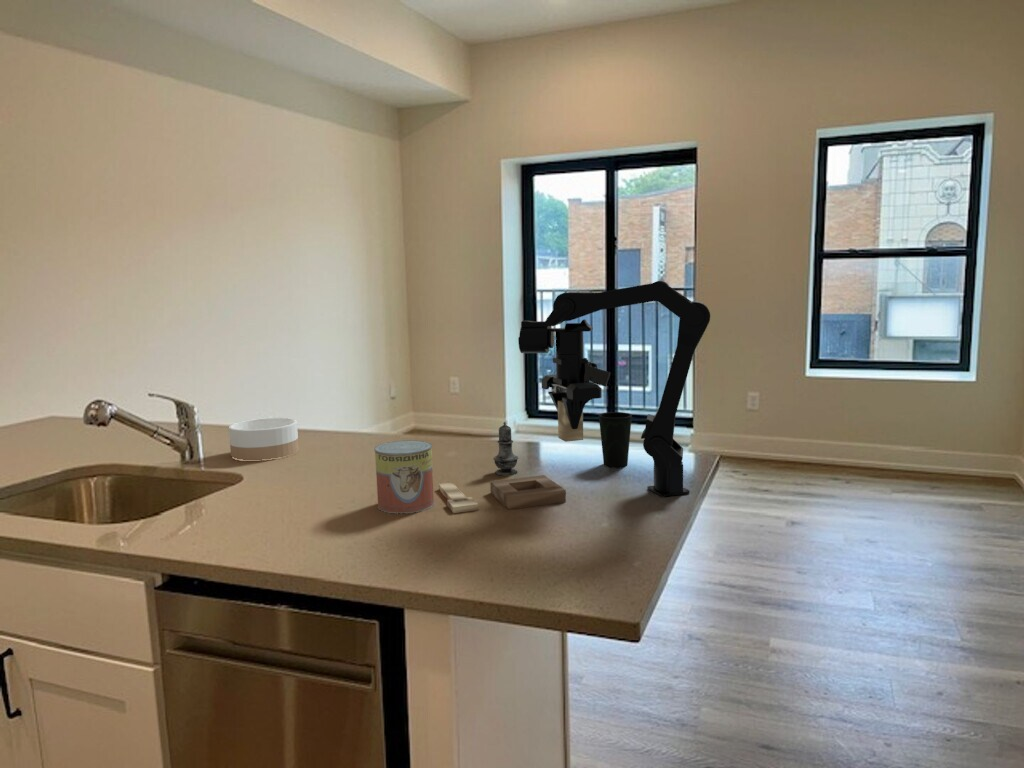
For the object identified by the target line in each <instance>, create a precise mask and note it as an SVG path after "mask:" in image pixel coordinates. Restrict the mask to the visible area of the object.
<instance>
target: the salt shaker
mask: <svg viewBox="0 0 1024 768" xmlns="http://www.w3.org/2000/svg"><path fill="white" fill-rule="evenodd" d="M513 442H514V440H512V428H511V427H510V426H509V425H507V423H506V421H504V422H503V424H502V426H500V427H499V428H498V441H497V443H498V453H497V455H495V456H494V457H493V458H492V459H493V461H494V464H495V466H496V468H498V469H497V470H496V471H495V472H494V474H495V475H496V474H497V476H500V475H501V476H502V477H508V476H507V475H510V476H515V475H517V474H518V470H516V469H515V467H516V466H517V463H518V459H519V455H516V454H514V452H513ZM514 474H515V475H514ZM501 476H500V477H501Z"/></svg>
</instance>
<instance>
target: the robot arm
mask: <svg viewBox="0 0 1024 768" xmlns="http://www.w3.org/2000/svg"><path fill="white" fill-rule="evenodd" d="M651 302H658V303H660V304H661V306H663V307H665V308H666V309H668V311H670V312H671V313H673V314H674V315H676V316H677V318H679V321H678V322H679V323H678V331H677V340H676V341H677V342H676V343H677V344H676V348H675V350H674V351H675V352H674V354H673V358H672V361H671V366H670V368H669V371H668V376H667V379H666V382H665V386H664V389H663V392H662V396H661V398H660V402H659V403H660V404H659V407H658V409H657V411H656V413H655V415H652V414H647V417H646V421H645V428H644V429H643V430H642V434H641V436H640V439H641V440H642V439H643V443H642V444H643V449H644V451H645V453H646V454H647V455H649V456H650V457H652V459H653V460H652V461H653V485H648V486H647V490H649V491H651V492H653V493H655V494H656V495H658V496H661V497H671V496H678V495H685V494H690V493H691V490H689V489H687V488H685V487H684V464H683V460H684V459H683V458H684V448H683V447H682V446H681V445H680V443H678V442H677V441H676V439H674V435H675V424H676V415H677V411H678V408H679V404H680V402H681V397H682V395H683V391H684V387H685V385H686V381H687V377H688V374H689V370H690V368H691V364H692V360H693V358H694V353H695V351H696V349H697V348H698V345H699V343H700V341H701V339H702V337H703V336H704V334H705V331H706V329H707V328H708V325H709V324H710V322H711V321H710V320H711V312H710V310H709V308H708V306H707V305H706V304H705V303H704V302H701V301H698V300H690V299H689V298H687V297H686V296H684V295H683V294H682V293H680V292H679V291H677V290H676V289H674V288H673V287H671V286H670V285H669V283H668V282H666V281H664V280H657V281H655V282H652V283H647V284H640V285H636V286H629V287H623V288H617V289H611V290H606V291H600V292H598V291H595V292H594V291H591V292H590V291H568V292H562V293H560V294H559V295H557V296H556V298H555V299H554V301H553V304H552V311H551V312H550V313H549V315H548V316H547V317H546V319H545V321H543V320H542V321H538V320H537V321H536V320H535V321H534V320H533V321H532V320H522V321H521V322H520V323H521V325H520V326H521V327H520V330H519V336H518V338H517V339H518V348H519V352H520V353H521V354H548V353H549V351H550V349H554V346H555V357H552V363H553V364H555V373H556V374H548V375H547V374H546V375H544V376H543V377H542V379H541V389H543V390H549V388H551V391H548V392H547V394H548V395H549V396H550V399H551V400H552V402H553V404H554V406H555V408H556V411H557V412H558V401H561V400H563V403H564V406H565V409H566V413H567V416H568V419H569V422H570V425H571V427H572V429H577V428H578V425H579V421H580V418H581V415H582V411H583V412H584V408H585V406H586V404H588V402H590V401H592V400H594V399H601V398H602V396H603V395H602V391H603V390H602V387H607V384H608V382H609V379H610V376H611V372H610V371H607V370H603V369H601V368H598V364H597V363H593V362H592V361H591V362H590V361H589V359H588V358H587V357H584V332H591V331H592V330H594V328H593V326H592V325H590V324H589V323H588V321H587V320H586V319H582V320H581V321H580V322H576V323H575V322H574V323H573V322H571V323H568V322H569V321H573V320H577V319H578V318H582V317H584V316H588V315H590V314H593V313H596V312H599V311H602V310H608V309H614V308H621V307H627V306H633V305H638V304H645V303H651ZM564 322H567V323H565V325H564V327H560V328H559V327H556V328H555V327H554V326H558V325H560V324H563V323H564ZM553 327H554V328H553ZM601 386H602V387H601Z"/></svg>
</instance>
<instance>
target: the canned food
mask: <svg viewBox="0 0 1024 768" xmlns="http://www.w3.org/2000/svg"><path fill="white" fill-rule="evenodd" d="M432 448H433V445H432V444H431V443H430V442H428V441H424V440H397V441H396V440H395V441H390V442H385V443H382V444H381V443H380V444H378V445H376V446H375V447H374V456H375V472H376V473H375V475H376V490H377V491H376V492H377V510H379V511H380V510H381V511H380V512H382V511H384V512H383V513H385V512H388V513H387V514H390V513H397V514H396V515H399V514H398V513H401V514H400V515H403V514H402V513H410V514H414V513H413V512H416V513H420V511H421V512H424V511H427V510H429V509H431V508H433V507H434V506H435V499H434V498H435V497H434V477H433V471H434V469H433V453H432V451H433V450H432Z"/></svg>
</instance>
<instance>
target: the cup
mask: <svg viewBox="0 0 1024 768" xmlns="http://www.w3.org/2000/svg"><path fill="white" fill-rule="evenodd" d="M632 417H633V415H632V414H631V413H628V412H622V411H609V412H603V413H600V414H599V415H598V421H599V423H598V424H599V431H600V441H601V451H602V459H603V466H604V465H606V466H609V467H608V468H611V467H616V468H620V467H621V468H626V467H628V464H629V462H628V461H629V451H630V440H631V430H632V429H631V428H632ZM606 466H605V467H606Z"/></svg>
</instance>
